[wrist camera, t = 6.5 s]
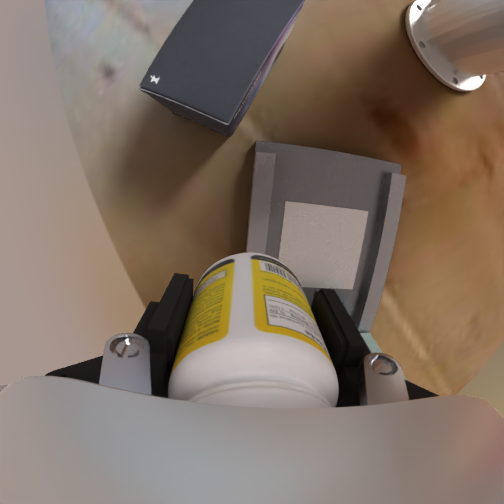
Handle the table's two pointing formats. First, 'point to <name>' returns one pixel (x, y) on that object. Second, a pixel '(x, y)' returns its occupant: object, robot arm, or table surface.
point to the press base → (327, 220)
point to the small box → (219, 59)
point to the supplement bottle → (252, 340)
